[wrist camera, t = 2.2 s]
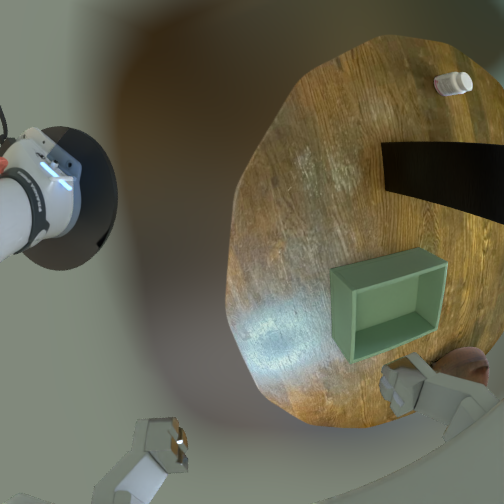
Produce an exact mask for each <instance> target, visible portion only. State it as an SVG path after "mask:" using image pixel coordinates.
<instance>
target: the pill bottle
mask: <svg viewBox="0 0 504 504" xmlns="http://www.w3.org/2000/svg"><path fill="white" fill-rule="evenodd" d="M434 86H435V88H436V90H437V92H438V93H439V94H440V95H442V96H448V95H455V94H463V93H465V92H466V91H471V90H472V87H473V85H472V81H471V78H470V77H469V75H468V74H467V73H465V72H461V73H458V72H452V73H448V74H443V75H439V76H436V77H435V79H434Z"/></svg>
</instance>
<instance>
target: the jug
mask: <svg viewBox="0 0 504 504" xmlns="http://www.w3.org/2000/svg"><path fill="white" fill-rule="evenodd" d="M432 369H433V370H434V371H435V372H436V373H439V372H440V373H443V374H447V375H450V376H454V377H458V378H461V379H465V380H469V381H473V382H476V383H480V384H484V385H485V386H487V383H488V379H489V364H488V360H487V359H486V356H485V354H484V353H483V352H482V351H481V350H480V349H478V348H475V347H463V348H458V349H455V350H453V351H451V352H449V353H447V354H446V355H444V356H443V357H442V358H440V359H439V360H438V361H437V362H433V363H432Z"/></svg>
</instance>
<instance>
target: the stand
mask: <svg viewBox="0 0 504 504" xmlns="http://www.w3.org/2000/svg"><path fill="white" fill-rule="evenodd" d="M381 147H382V156H383V166H384V177H385V190H386V191H389V192H394V193H398V194H402V195H406V196H410V197H414V198H418V199H422V200H425V201H429V202H433V203H437V204H440V205H444V206H447V207H451V208H454V209H457V210H461V211H464V212H467V213H470V214H473V215H477V216H480V217H483V218H486V219H489V220H492V221H494V222H497V223H500V224H503V225H504V145H496V144H483V143H466V142H384V143H381Z"/></svg>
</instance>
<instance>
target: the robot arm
mask: <svg viewBox="0 0 504 504" xmlns="http://www.w3.org/2000/svg"><path fill="white" fill-rule="evenodd" d="M0 118H1V121H2V125H3V130H4V134H2V135H0V144H1V147H0V262H2V261H3V260H5V259H6V258H7V257H9V256H10V255H12V254H18V253H20V252H22V251H24V250H26V249H28V248H31V247H33V246H34V245H36V244H37V243H38V242H40V241H41V240H42V239H46V238H59V237H62V236H64V235H65V234H67V233H68V232H69V231H70V230H71V229H72V228H73V227H74V225H75V223H76V221H77V219H78V217H79V213H80V209H81V192H80V184H79V181H80V176H81V171H82V166H81V164H80V162H79V161H77V160H76V159H75V158H74V157H72V156H71V155H70V154H69V153H67V152H66V151H65V150H64V149H62V148H61V147H60V146H59V145H58V144H56V143H55V142H54V141H53V140H51V139H50V138H49V137H48V136H47V135H45V134H44V133H43V132H42V131H41V130H39V129H38V128H37V127H31V128H29V129H27V130H26V131H25V132H23V133H22V134H21V135H20V136H19V137H18V138H17V139H16V140H15V138H7V131H8V130H7V124H6V120H5V117H4V114H3V111H2V109H1V106H0ZM25 135H26V138H25ZM4 139H6V140H5V141H4ZM70 163H72V166H71V167H70ZM381 372H382V374H383V376H382V378H381V379H380V383H379V387H380V392H381V394H382V396H383V398H384V399H385V400H387V401H390V408H391V409H392V411H393V412H394V413H395V415H396V416H397V417H399V416H401V415H403V414H406V413H408V412H410V411H412V410H415V411H417V412H419V413H421V414H423V415H425V416H427V417H429V418H431V419H434V420H436V421H438V422H440V423H442V424H444V425H447V426H448V427H447V428H446V430H445V432H444V434H443V436H442V437H443V439H444V441H445V442H446V443H444V444H443V445H441V446H440V447H438V448H436V449H435V450H433V451H432V452H430V453H428V454H427V455H425V456H423V457H421V458H420V459H418V460H416V461H414V462H412V463H411V464H409V465H407V466H405V467H403V468H401V469H399V470H397V471H395V472H393V473H391V474H389V475H387V476H385V477H382V478H380V479H378V480H376V481H373V482H371V483H369V484H367V485H364V486H361V487H359V488H357V489H354V490H351V491H348V492H346V493H343V494H340V495H337V496H334V497H331V498H328V499H325V500H322V501H318V502H315V503H312V504H504V398H503V399H502V400H501V401H499V399H498V398H497V397H496V396H495V395H494V394H493V393H492V392H491V391H490V390H488V388H487V387H486V386H485V385H484V384H480V383H476V382H473V381H469V380H465V379H461V378H458V377H454V376H450V375H447V374H443V373H440V372H439V373H436V372H435V371H434V370H433V369H432V368H431V367H430V366H429V365H428V364H427V363H426V362H425V361H424V360H423V359H422V358H421V357H420V356H419V355H418V354H417V353H415V352H413V353H411V354H408V355H406V356H404V357H401V358H399V359H397V360H394V361H392V362H390V363H388V364H385V365H384V366H383V367H382V371H381ZM187 450H188V443H187V437H186V434H185V432H184V430H183V429H182V428H180V427H179V422H178V420H177V418H176V417H168V418H151V419H138V420H137V422H136V425H135V431H134V438H133V443H132V450H131V452H127V453H126V454H125V455H124V456H123V457H122V458H121V459H120V461H119V462H118V463H117V464H116V465H115V466H114V467H113V468H112V469H111V470H110V471H109V472H108V473H107V474H106V475H105V476H104V477H103V478H102V479H101V480H100V481H99V482H98V483H97V484H96V485H95V486H94V491H93V497H92V503H91V504H149V503H150V501H151V500H152V498H153V496H154V495H155V493H156V492H157V490H158V489H159V488H160V486H161V484H162V483H163V481H164V480H165V478H166V477H167V475H168V473H183V472H188V458H187V457H186V455H185V453H186V451H187ZM3 504H54V503H51V502H47V501H44V500H41V499H38V498H35V497H33V496H30V495H27V494H23V493H18V494H16V495H14V496H13V497H11V498H10V499H8V500H7V501H5V502H4V503H3Z"/></svg>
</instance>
